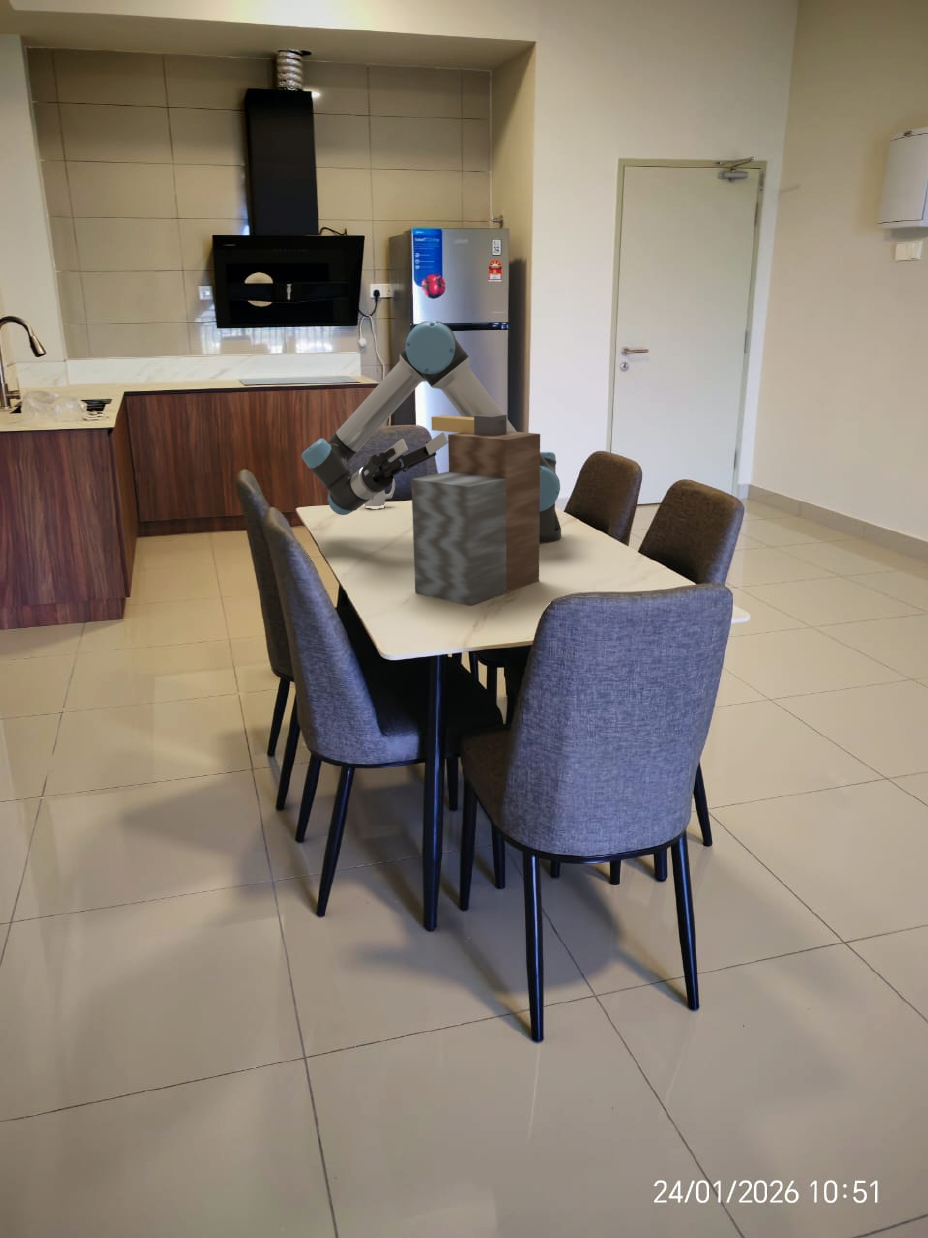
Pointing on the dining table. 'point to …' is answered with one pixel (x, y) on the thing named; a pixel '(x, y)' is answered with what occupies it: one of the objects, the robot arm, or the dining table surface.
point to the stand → (479, 519)
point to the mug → (381, 497)
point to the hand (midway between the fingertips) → (425, 440)
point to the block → (472, 424)
